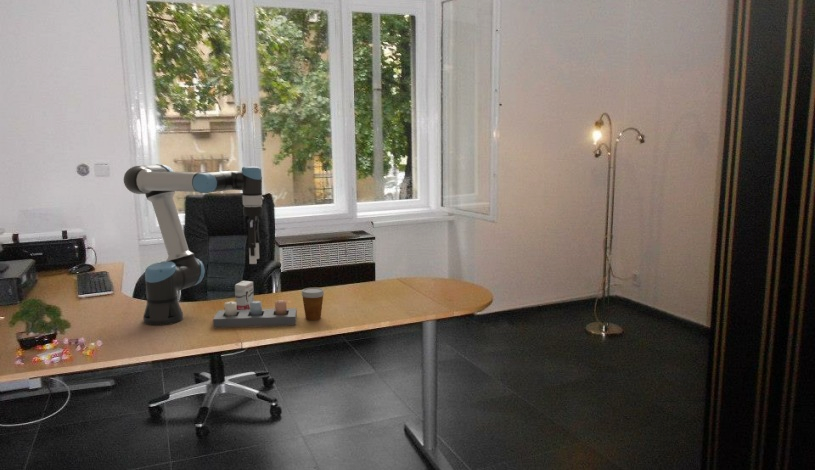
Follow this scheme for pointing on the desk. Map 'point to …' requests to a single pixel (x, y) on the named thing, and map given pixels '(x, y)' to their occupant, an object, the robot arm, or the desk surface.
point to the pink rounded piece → (280, 307)
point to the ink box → (244, 295)
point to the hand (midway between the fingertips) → (254, 261)
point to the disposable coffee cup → (312, 302)
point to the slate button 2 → (256, 308)
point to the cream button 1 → (230, 309)
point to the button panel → (255, 318)
